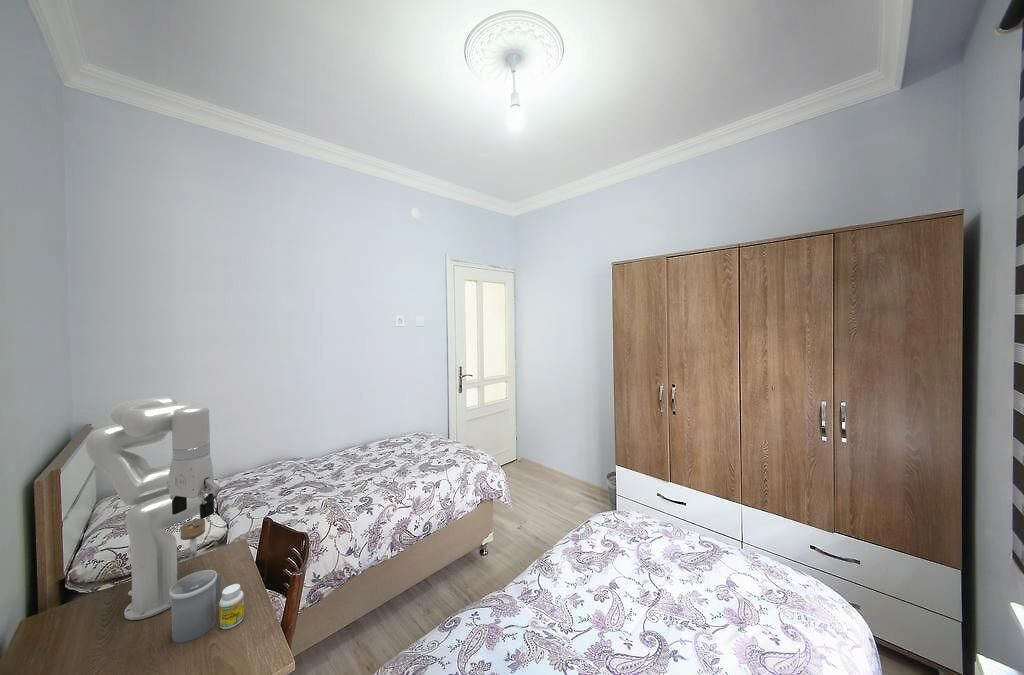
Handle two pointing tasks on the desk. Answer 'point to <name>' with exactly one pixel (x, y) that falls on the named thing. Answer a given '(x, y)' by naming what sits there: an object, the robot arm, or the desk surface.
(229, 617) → the supplement bottle
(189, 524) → the plunger
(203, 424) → the robot arm
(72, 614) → the desk surface
